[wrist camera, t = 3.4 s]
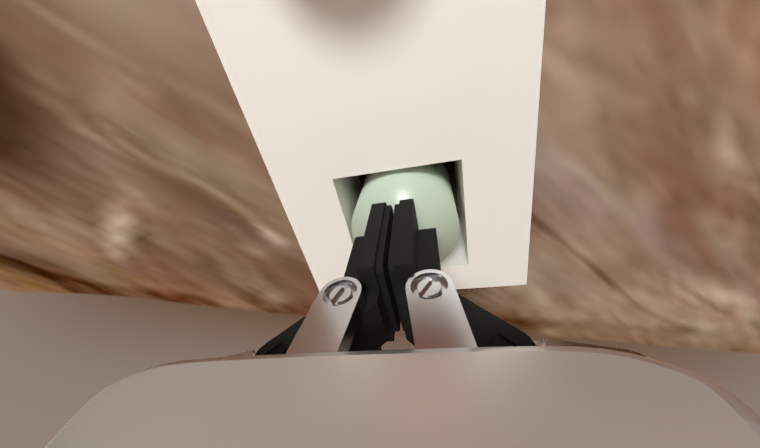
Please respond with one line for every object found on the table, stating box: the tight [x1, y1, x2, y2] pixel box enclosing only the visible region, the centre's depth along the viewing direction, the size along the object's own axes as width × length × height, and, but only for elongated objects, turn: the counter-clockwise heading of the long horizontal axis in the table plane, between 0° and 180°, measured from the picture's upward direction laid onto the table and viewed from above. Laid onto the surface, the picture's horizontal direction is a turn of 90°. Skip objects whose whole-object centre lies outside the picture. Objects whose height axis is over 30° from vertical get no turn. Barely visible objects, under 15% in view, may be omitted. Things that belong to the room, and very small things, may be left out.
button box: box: [195, 0, 546, 291], centre depth 11 cm, size 10×20×4 cm, turn 12°
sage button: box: [351, 163, 459, 262], centre depth 14 cm, size 4×4×4 cm
